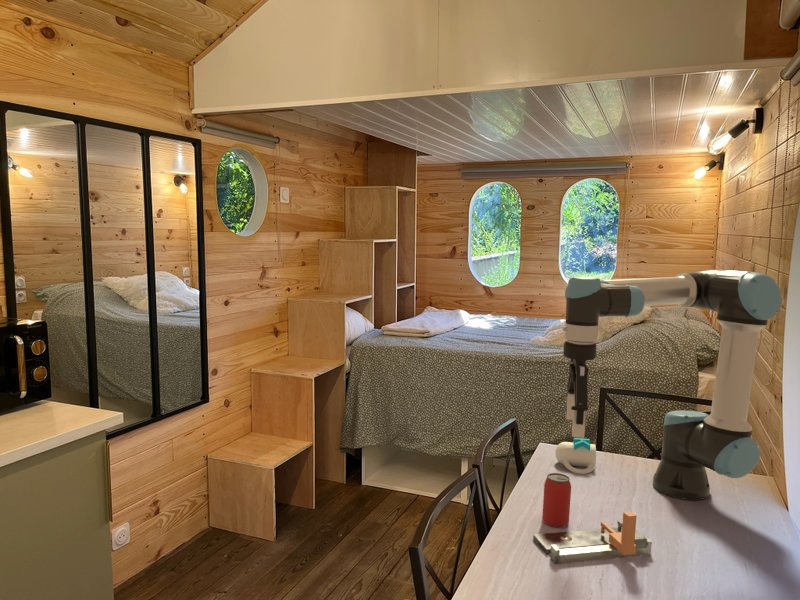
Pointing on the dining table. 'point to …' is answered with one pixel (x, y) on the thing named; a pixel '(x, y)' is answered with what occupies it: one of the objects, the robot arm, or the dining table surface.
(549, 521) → the beer can
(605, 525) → the block
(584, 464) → the mug
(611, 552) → the beam
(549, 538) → the hole plate
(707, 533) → the dining table surface
